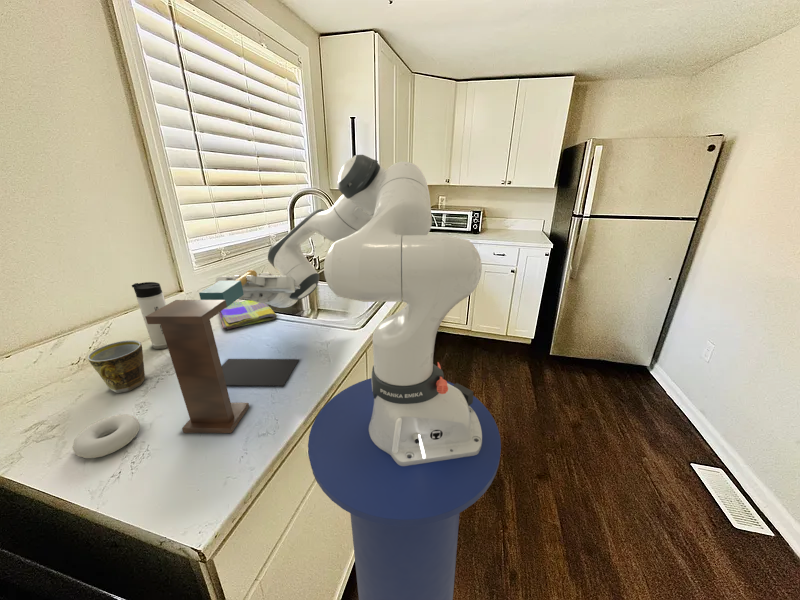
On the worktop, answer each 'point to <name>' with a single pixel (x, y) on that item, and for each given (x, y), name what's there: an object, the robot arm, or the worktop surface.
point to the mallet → (226, 289)
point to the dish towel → (245, 314)
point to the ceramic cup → (120, 365)
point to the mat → (258, 371)
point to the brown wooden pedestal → (198, 364)
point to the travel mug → (151, 309)
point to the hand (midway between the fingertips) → (242, 278)
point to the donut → (96, 446)
